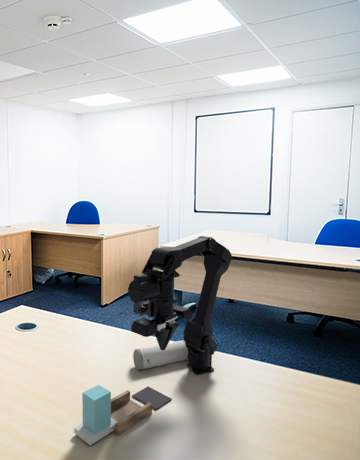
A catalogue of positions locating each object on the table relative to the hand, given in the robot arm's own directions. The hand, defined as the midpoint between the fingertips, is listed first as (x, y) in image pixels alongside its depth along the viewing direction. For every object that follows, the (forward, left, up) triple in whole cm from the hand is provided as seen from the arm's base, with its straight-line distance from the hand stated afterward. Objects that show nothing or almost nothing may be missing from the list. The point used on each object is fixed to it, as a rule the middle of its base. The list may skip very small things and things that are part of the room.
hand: (162, 349), depth 97 cm
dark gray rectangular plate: (+4, +2, -12) cm, 13 cm away
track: (+13, +6, -12) cm, 19 cm away
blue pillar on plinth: (+20, +10, -12) cm, 25 cm away
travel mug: (+3, -14, -9) cm, 17 cm away
